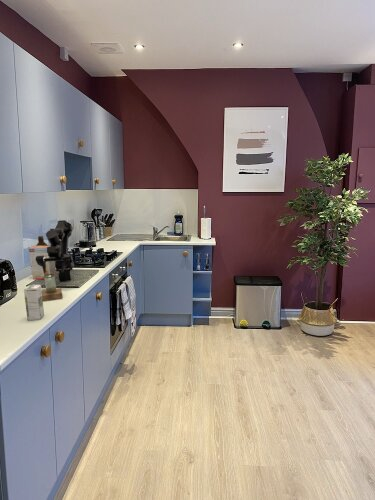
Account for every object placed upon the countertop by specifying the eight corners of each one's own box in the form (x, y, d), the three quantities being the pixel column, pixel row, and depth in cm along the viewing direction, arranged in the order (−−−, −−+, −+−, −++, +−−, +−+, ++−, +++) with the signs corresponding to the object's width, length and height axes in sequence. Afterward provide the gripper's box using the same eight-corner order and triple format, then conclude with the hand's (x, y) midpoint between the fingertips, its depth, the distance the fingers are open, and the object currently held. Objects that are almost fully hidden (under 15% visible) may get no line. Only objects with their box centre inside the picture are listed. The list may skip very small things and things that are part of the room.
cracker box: (57, 277, 239) (53, 245, 235) (50, 280, 233) (46, 247, 230) (39, 277, 244) (34, 245, 240) (32, 279, 238) (28, 246, 234)
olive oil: (34, 273, 254) (29, 236, 249) (49, 270, 261) (44, 234, 256) (40, 276, 246) (35, 238, 241) (56, 272, 253) (51, 235, 249)
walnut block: (61, 293, 204) (61, 288, 204) (62, 298, 195) (61, 293, 195) (42, 296, 201) (41, 290, 201) (41, 301, 192) (41, 296, 191)
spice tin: (53, 289, 201) (51, 273, 200) (58, 291, 198) (56, 274, 196) (44, 292, 198) (42, 275, 196) (49, 294, 194) (46, 277, 192)
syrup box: (31, 316, 172) (27, 285, 169) (44, 315, 172) (40, 284, 169) (27, 320, 166) (22, 288, 163) (41, 319, 166) (36, 287, 164)
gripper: (34, 241, 205) (31, 266, 196) (69, 239, 207) (67, 263, 198) (39, 253, 214) (37, 276, 206) (73, 250, 216) (72, 274, 208)
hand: (53, 272), depth 204 cm, fingers open, 9 cm apart
